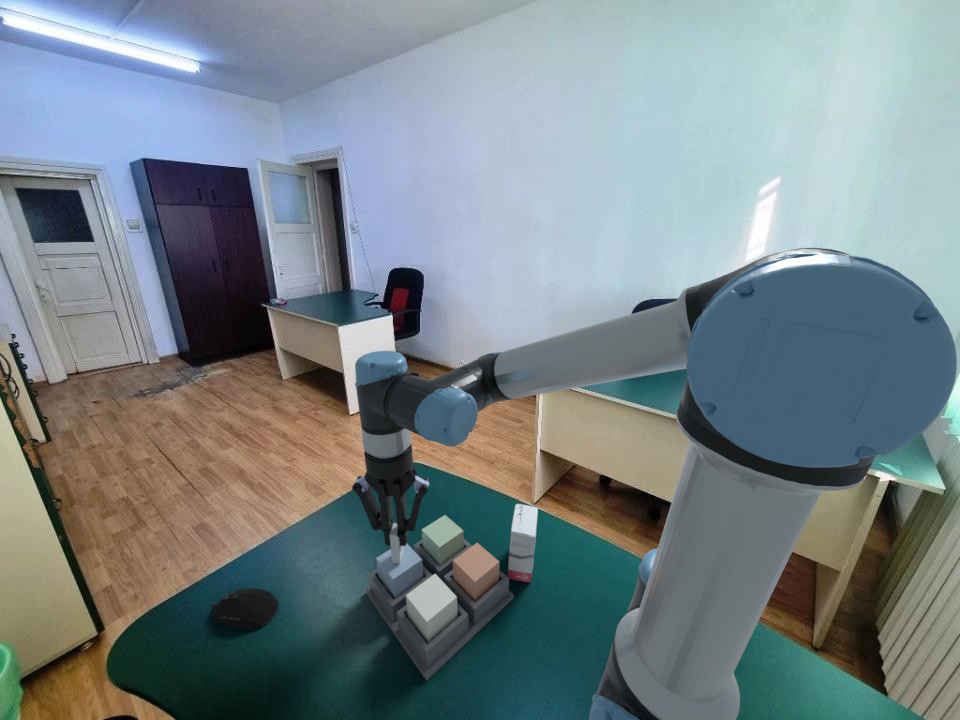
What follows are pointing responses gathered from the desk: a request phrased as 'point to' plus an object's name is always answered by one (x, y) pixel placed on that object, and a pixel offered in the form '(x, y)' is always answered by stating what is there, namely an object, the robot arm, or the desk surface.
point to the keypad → (456, 633)
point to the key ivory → (431, 607)
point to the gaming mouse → (245, 609)
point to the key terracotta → (476, 571)
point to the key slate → (400, 571)
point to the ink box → (522, 542)
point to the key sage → (442, 540)
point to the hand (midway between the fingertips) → (398, 556)
